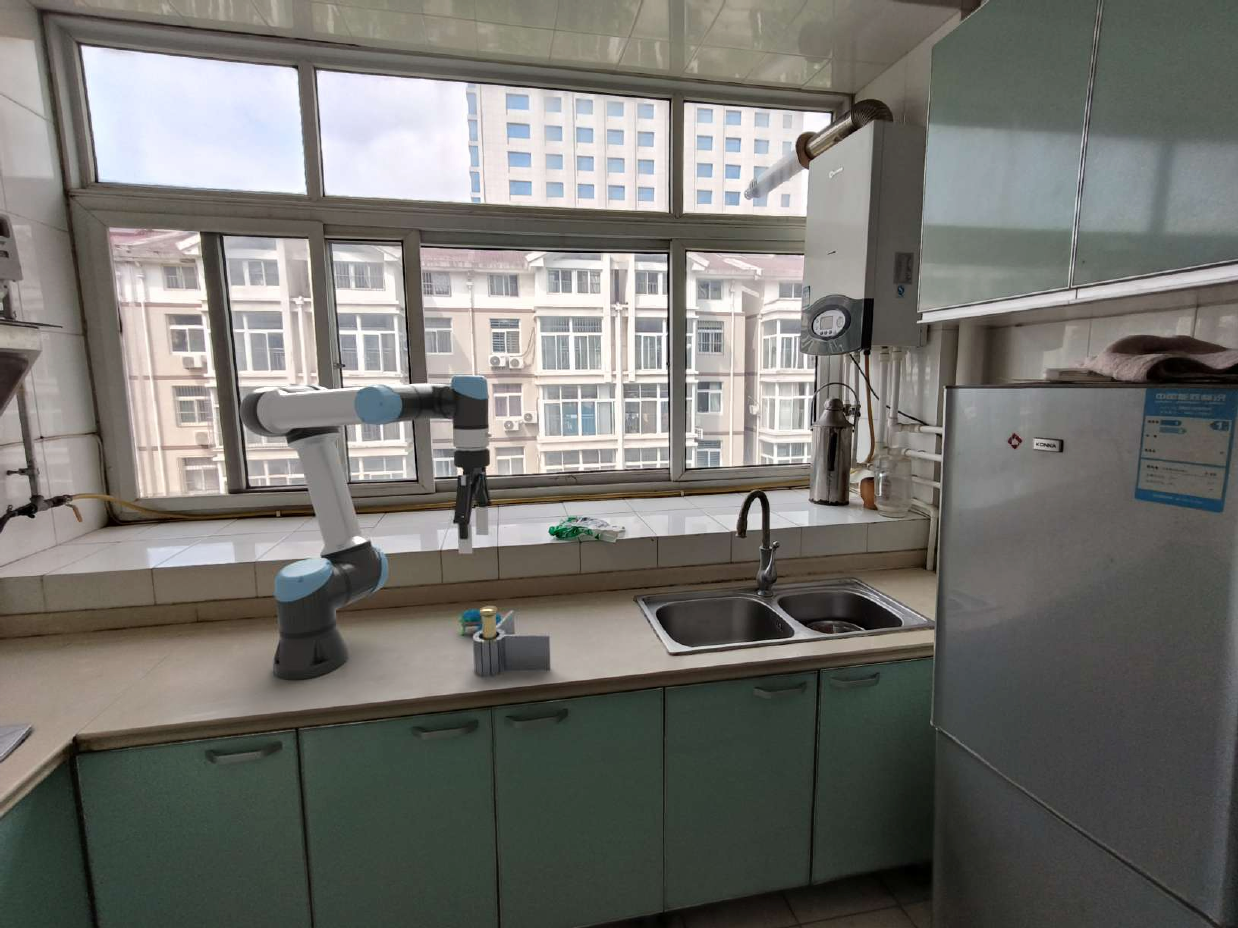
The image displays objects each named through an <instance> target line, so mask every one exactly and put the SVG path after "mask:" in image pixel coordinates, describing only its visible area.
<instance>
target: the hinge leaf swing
mask: <svg viewBox="0 0 1238 928" xmlns="http://www.w3.org/2000/svg"><path fill="white" fill-rule="evenodd" d="M496 629H501V630H503V631H504V632H505V633H506V634H516V633H515V631H516V630H515V611H514V610H510V611H508V613H506V615H505V616H504V617H503V618H501V621H500V622H499V623H498V624H497V625H496Z"/></svg>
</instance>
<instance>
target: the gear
mask: <svg viewBox="0 0 1238 928" xmlns="http://www.w3.org/2000/svg"><path fill="white" fill-rule="evenodd" d="M495 616H496V626H497V625H498V623H499V622H500V621H501V620H502V616H501V615H500V614H498V613H496V614H495ZM458 623H461V627H462V629H461V636H465V633H466V628H469V627H477V632H478V631H480V630H482V616H481V615H480V610H478V609H477V608H474V609H473V608H472V609H471V610H465V612H462V615H460V616H459V617H458Z"/></svg>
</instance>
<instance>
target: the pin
mask: <svg viewBox="0 0 1238 928" xmlns="http://www.w3.org/2000/svg"><path fill="white" fill-rule="evenodd" d="M479 611H480V615H481V616H482V635H483V640H491V639H495V638H496V626H497V625H496V615H497V614H498V608H497V607H496V606H494V605H486V606H482V607H481V608H480V609H479Z"/></svg>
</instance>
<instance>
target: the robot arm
mask: <svg viewBox="0 0 1238 928" xmlns="http://www.w3.org/2000/svg"><path fill="white" fill-rule="evenodd" d="M488 386H489V385H488V380H487V378H486V377H485V376H483V375H467V374H466V375H465V374H464V375H463V374H462V375H461V374H460V375H459V374H457V375H453V376H451V378H450V384H444V383H443V384H441V383H428V382H423V383H420V382H418V383H411V384H371V385H367V386H360V387H359V386H358V387H349V388H336V389H335V388H334V389H329V388H327V387H323V386H317V385H309V384H307V385H298V386H297V385H296V386H266V387H261V388H257V389H255V390H253V391H251V392H249V393H247V395H245V397H244V398H243V399H242V401H241V403H240V407H239V416H240V419H241V422H242V424H243V426H244V427H246V428H247V430H248V431H250V432H252V433H253V434H255V435H258V436H261V437H265V438H281V437H282V438H283V437H284V438H285V439H286V444H287V446H288V447H289V448H290V449H292V450H295V451H296V452H297V456H298V458H299V462H300V466H301V469H302V470H301V471H302V473H303V477H304V478H305V479H304V480H305V483H306V486H307V490H308V493H309V496H310V499H311V504H312V507H313V510H314V514H315V517H316V520H317V523H318V527H319V530H320V534H321V536H322V540H323V541H322V542H323V544H324V546H323V549H322V550H321V552H320V554H319V555H320V557H312V558H311V557H310V558H307V559H304V560H298V561H296V562H293V563H290V564H288V565H286V566H284V567H283V568H282V569H280V570H279V571H278V573H277V574H276V575H275V579H274V590H273V596H274V598H275V605H276V615H277V625H278V633H279V634H278V636H279V638H278V641H277V642H278V643H277V645H276V649H275V654H274V658H273V661H272V666H273V674H274V675H275V676H276V677H278V678H280V679H284V680H294V681H295V680H303V679H304V680H305V679H310V678H314V677H315V678H316V677H318V676H322V675H324V674H327V673H330V672H333V671H334V670H336V669H337V668H339V667H341V666H342V665H343V664H345V662H346V661H347V660H348V658H349V657H348V656H349V653H348V646H347V643H346V641H345V640H344V637H343V635H342V633H341V631H340V629H339V627H338V623H337V610H338V609H340V608H344V607H345V606H347V605H350V604H351V603H354V602H356V601H358V600H360V599H362V598H367V597H369V596H372V594H374V593H375V592H377V591H378V590H380V589H381V588H382V587H383V586H384V585H385V583H386V581H387V580H388V576H389V575H388V574H389V563H388V558H387V556H386V554H385V553H384V552H383V551H381V548H379V547H377V546H374V545H372V541H371V538H368V537H367V536H365V535H364V534H362V530H361V527H360V524H359V521H358V517H357V513H356V511H355V506H354V503H353V499H352V497H351V496H352V495H351V493H350V489H349V487H348V486H349V485H348V483H347V480H346V476H345V472H344V470H343V466H342V462H341V458H340V455H339V451H338V447H337V445H336V441H337V439H338V438H339V437H340V432H339V429H340V428H341V426H355V425H357V426H358V425H360V426H361V425H376V426H379V425H381V426H382V425H388V424H393V423H394V424H396V423H401V422H412V421H413V422H414V421H423V420H424V421H425V420H432V419H434V420H437V419H438V420H439V419H440V420H451V421H452V446H453V447H454V448H455V449H454V450H453V465H454V467H456V468H461V469H462V474H458V475H457V477H456V478H457V480H456V481H457V486H456V494H455V506H454V515H453V516H454V517H453V519H452V524H454V525H455V524H457V542H458V554H466V555H467V554H473V527H472V526H473V524H472V522H471V518H472V511H473V506H474V501H475V503H476V504H475V505H476V507H475V534H476V536H488V535H489V533H490V532H489V507H492V504H493V503H492V501H491V495H490V490H489V483H488V477H487V467H489V466H490V464H491V457H490V456H491V453H490V451H491V450H490V449H489V448H487V447H489V446H490V438H492V436H493V435H492V433H491V432H490V424H489V403H490V402H489V398H490V396H489V389H488V388H489V387H488ZM474 499H475V500H474Z"/></svg>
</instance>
